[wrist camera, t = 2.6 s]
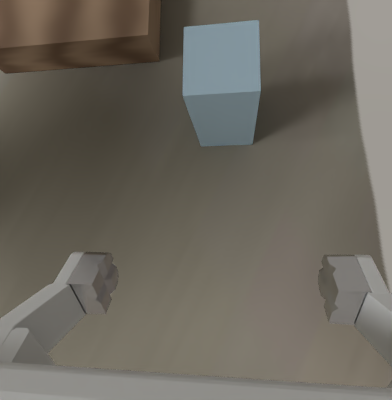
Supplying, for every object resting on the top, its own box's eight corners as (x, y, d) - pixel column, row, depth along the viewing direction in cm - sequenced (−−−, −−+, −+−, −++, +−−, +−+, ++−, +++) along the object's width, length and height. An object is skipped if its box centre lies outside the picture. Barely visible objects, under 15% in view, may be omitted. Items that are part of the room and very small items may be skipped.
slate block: (200, 146, 29) (182, 95, 19) (201, 98, 30) (183, 26, 20) (252, 144, 28) (260, 91, 18) (251, 95, 29) (258, 19, 19)
